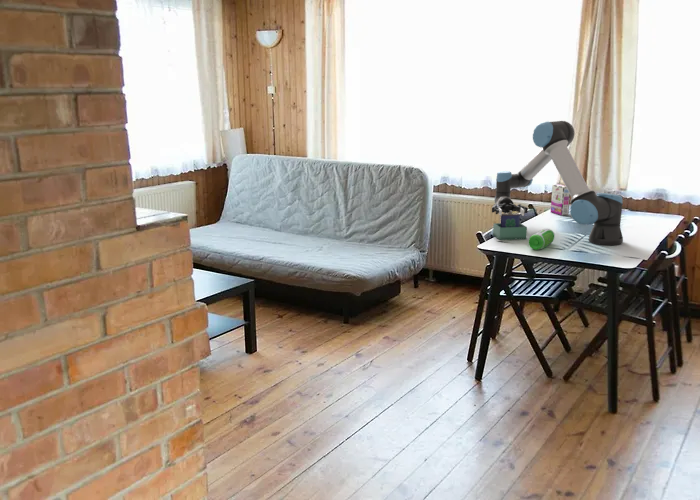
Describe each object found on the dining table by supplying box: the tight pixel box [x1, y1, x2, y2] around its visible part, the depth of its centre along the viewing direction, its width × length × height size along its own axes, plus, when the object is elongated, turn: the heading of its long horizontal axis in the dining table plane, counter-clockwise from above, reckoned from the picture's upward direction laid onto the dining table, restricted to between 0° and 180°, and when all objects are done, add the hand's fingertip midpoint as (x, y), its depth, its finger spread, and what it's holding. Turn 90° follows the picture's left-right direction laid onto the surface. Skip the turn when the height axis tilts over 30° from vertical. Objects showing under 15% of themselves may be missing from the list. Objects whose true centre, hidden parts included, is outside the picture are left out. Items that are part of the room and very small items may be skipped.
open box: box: [492, 222, 528, 241], centre depth 323 cm, size 10×13×6 cm
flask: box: [500, 210, 521, 228], centre depth 322 cm, size 9×3×11 cm, turn 88°
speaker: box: [528, 228, 555, 251], centre depth 304 cm, size 18×7×8 cm, turn 145°
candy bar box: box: [550, 183, 571, 216], centre depth 377 cm, size 11×5×16 cm, turn 17°
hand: (512, 213), depth 317 cm, fingers open, 10 cm apart
